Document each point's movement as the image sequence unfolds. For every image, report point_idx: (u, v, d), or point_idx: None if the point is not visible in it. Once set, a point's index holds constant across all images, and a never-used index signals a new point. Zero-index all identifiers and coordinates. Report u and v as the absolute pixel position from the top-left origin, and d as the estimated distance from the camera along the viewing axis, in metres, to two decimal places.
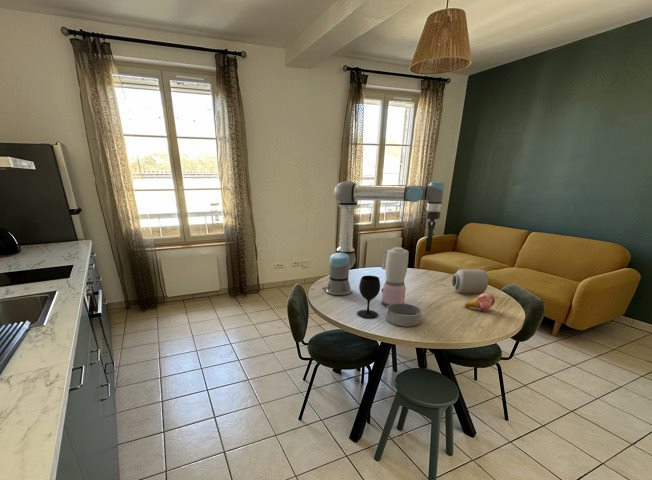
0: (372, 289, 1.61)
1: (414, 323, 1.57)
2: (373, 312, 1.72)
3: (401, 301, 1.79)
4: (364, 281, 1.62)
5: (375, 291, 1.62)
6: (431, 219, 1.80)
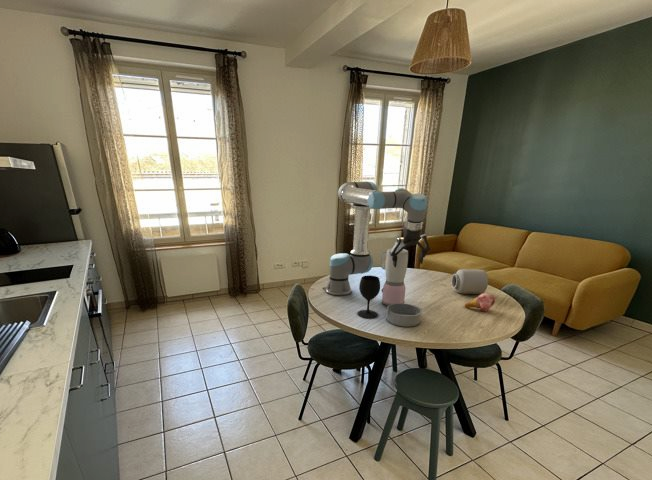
0: (372, 289, 1.61)
1: (414, 323, 1.57)
2: (373, 312, 1.72)
3: (401, 301, 1.78)
4: (364, 281, 1.62)
5: (375, 291, 1.62)
6: (404, 235, 1.56)
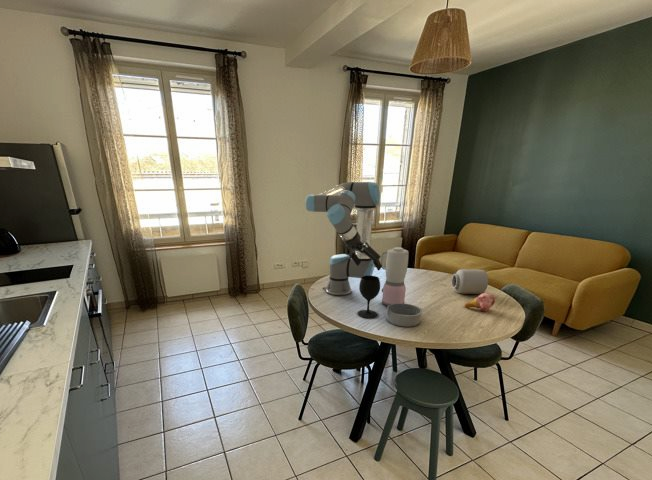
0: (372, 289, 1.61)
1: (414, 323, 1.57)
2: (373, 312, 1.72)
3: (401, 301, 1.78)
4: (364, 281, 1.62)
5: (375, 291, 1.62)
6: None
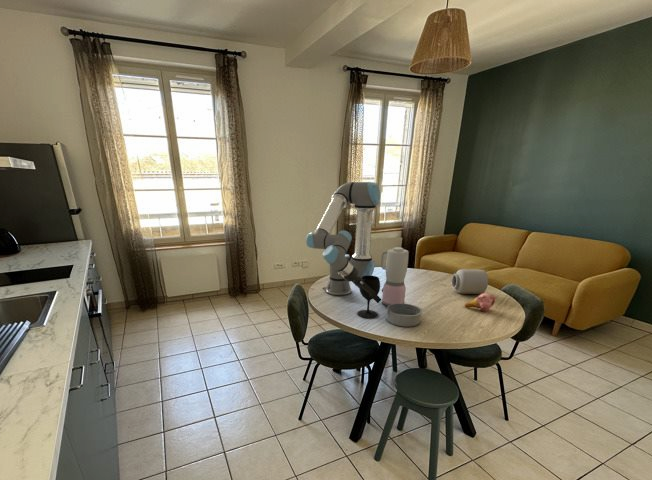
0: (372, 289, 1.61)
1: (414, 323, 1.57)
2: (373, 312, 1.72)
3: (401, 301, 1.78)
4: (364, 281, 1.62)
5: (375, 291, 1.62)
6: None
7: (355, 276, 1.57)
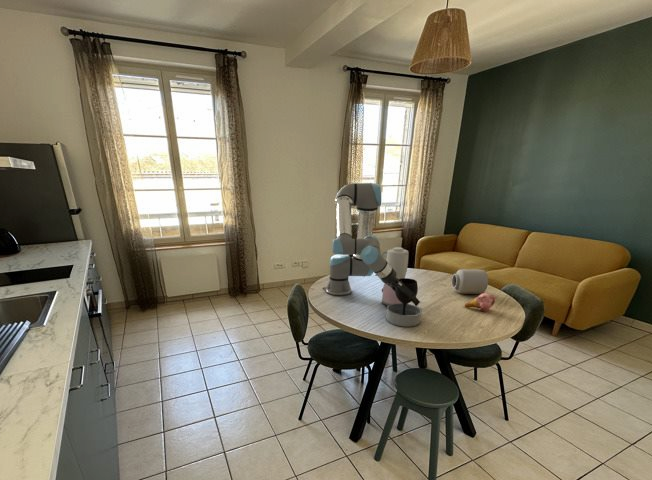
0: None
1: (414, 323, 1.57)
2: None
3: None
4: None
5: None
6: None
7: (393, 278, 1.49)
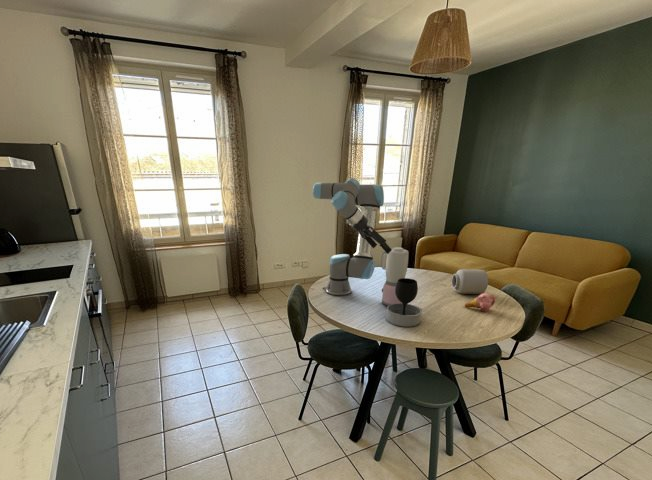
0: (410, 293, 1.54)
1: (414, 323, 1.57)
2: None
3: None
4: (401, 284, 1.54)
5: (413, 295, 1.54)
6: None
7: (364, 224, 1.52)
